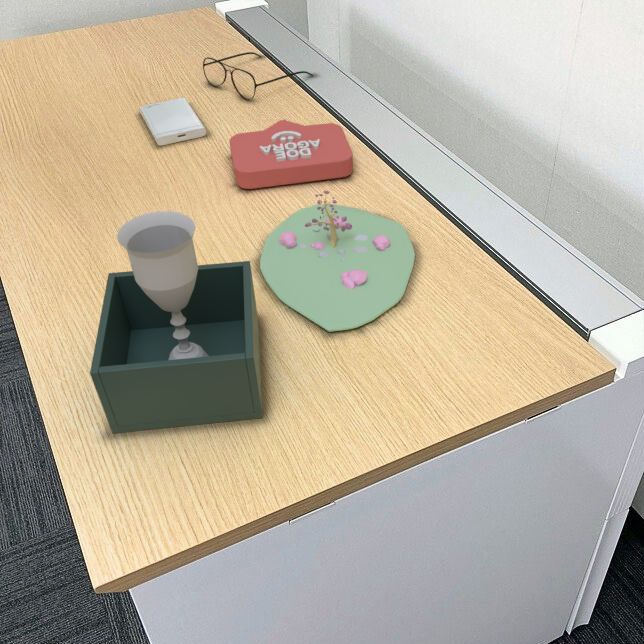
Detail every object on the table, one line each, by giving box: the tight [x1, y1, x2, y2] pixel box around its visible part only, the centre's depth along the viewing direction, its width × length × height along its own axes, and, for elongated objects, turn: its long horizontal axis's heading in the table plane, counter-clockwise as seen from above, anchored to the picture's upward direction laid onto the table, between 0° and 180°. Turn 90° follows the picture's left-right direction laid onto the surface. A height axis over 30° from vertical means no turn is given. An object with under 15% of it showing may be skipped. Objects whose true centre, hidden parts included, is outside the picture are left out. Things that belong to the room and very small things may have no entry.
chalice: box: [116, 210, 209, 360], centre depth 76 cm, size 7×7×18 cm
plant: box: [259, 190, 416, 333], centre depth 93 cm, size 25×21×9 cm
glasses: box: [202, 51, 314, 101], centre depth 137 cm, size 14×15×5 cm
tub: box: [89, 260, 264, 434], centre depth 79 cm, size 16×16×9 cm
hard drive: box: [139, 97, 207, 147], centre depth 124 cm, size 2×8×12 cm
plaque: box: [228, 119, 354, 190], centre depth 114 cm, size 18×4×15 cm
